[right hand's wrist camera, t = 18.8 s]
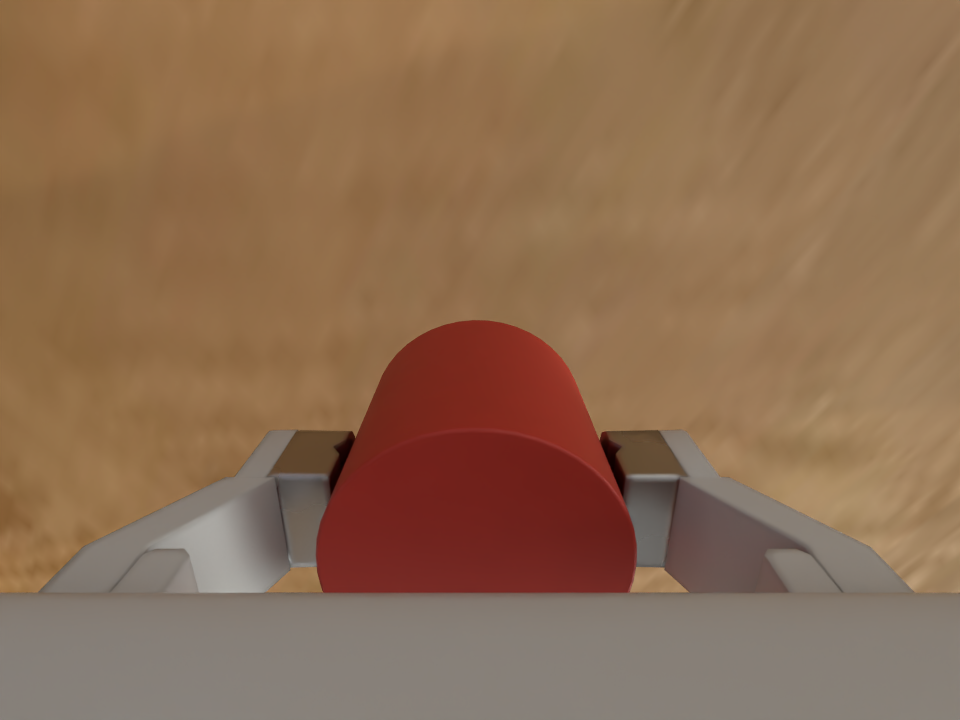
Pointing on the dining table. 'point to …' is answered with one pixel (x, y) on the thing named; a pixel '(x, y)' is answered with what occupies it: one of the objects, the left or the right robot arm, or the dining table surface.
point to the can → (476, 477)
